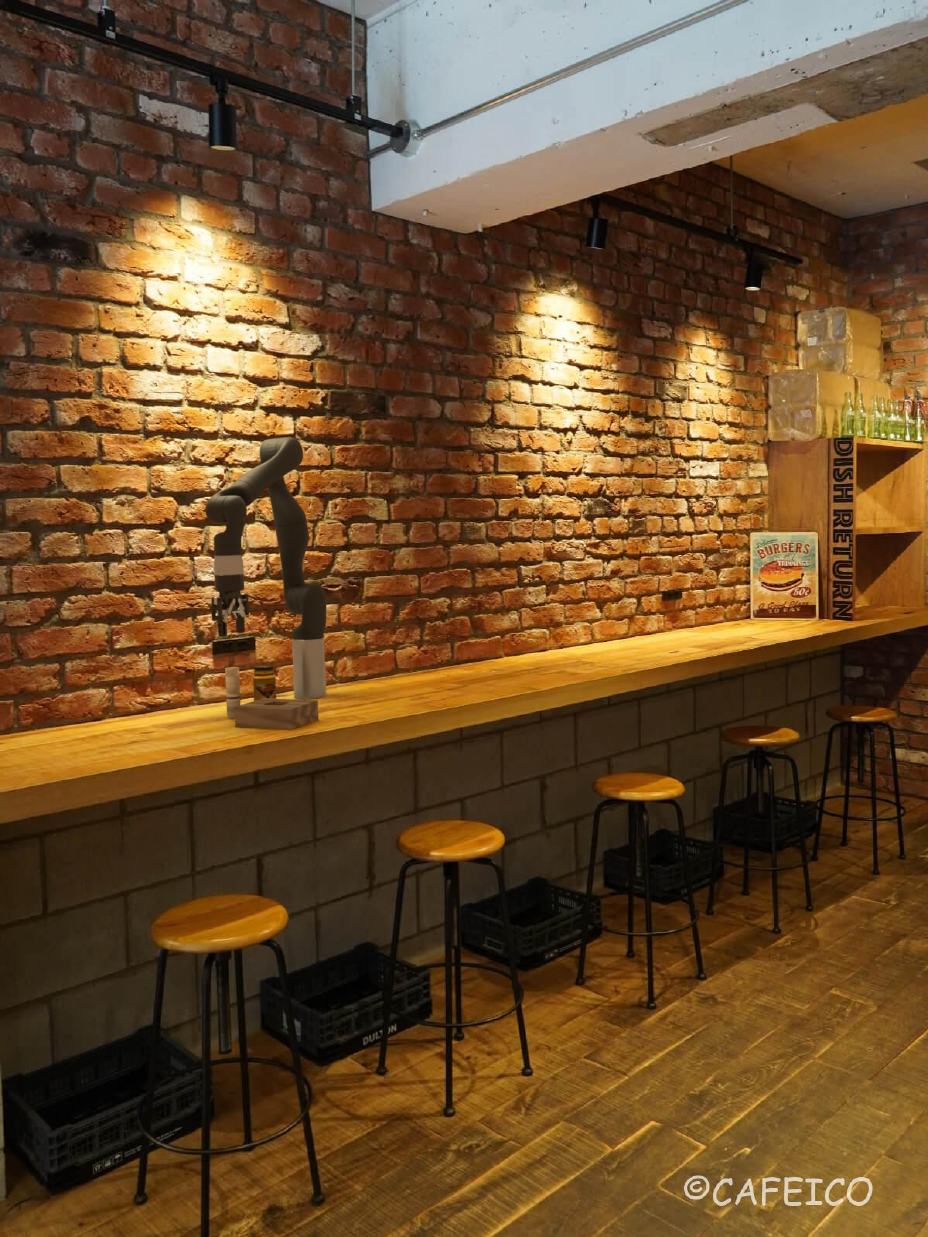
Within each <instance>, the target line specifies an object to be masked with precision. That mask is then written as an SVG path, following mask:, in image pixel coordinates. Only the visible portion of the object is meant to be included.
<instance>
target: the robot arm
mask: <svg viewBox="0 0 928 1237" xmlns="http://www.w3.org/2000/svg"><path fill="white" fill-rule="evenodd" d="M303 459H304V449H303V446H302V444H301V442H300V441H299V440H298V439H297V438H295V437H290V436H288V437H287V436H286V437H275V438H269V439H268V438H267V439H265V440H263V441H262V442H261V443H260V447H259V460H260V464H259V465H256V467H254V468H251V469H250V470H247V471H246V472H245V473H243V474H242V475H241V476H239V477H238V478H237V479H236V480H235V481H234V482H233V483H232V484H231V485H230V486H227V487H225V488H223V489H222V490H220V491H217V492H216V493H215V494H213V495H211V497H210V498H209V499H208V500H207V502H206V505H205V510H204V512H205V516H206V518H207V520H209V521H210V522H212V523H214V524H226V527H225V529H224V531H222V532H218V533H216V534H215V535H214V536H213V552H214V553H213V555H214V558H213V559H214V560H213V573H214V574H213V578H214V590H215V592H218V596H211V606H210V607H211V620H212V621H215V622H216V623H217V633H218V635H217V636H218V637H220V638H222V637H223V638H224V637H227V636H228V623H227V620H228V617H229V616H230V614H233V615H234V616H235V626H236V627H235V631H236V633H237V634H244V633H245V632H246V627H245V625H246V623H245V621H246V620H245V619H247V618H246V617H247V616H249V615H250V604H249V602H250V601H249V593H247V592H244V593H241V591H244V590H245V573H244V572H245V570H244V560H243V550H242V549H243V547H242V537H243V533H244V528H245V524H246V519H247V515H248V514H247V513H248V507H249V506H250V505H252V504H253V503H254V502H255V501H256V499H258V498H259V497H260V496H261V495H262V494H263V493H264V492H265V491H266V490H267V491H268V494H269V500H270V505H271V510H272V515H273V522H274V523H273V524H274V529H275V535H276V540H277V545H278V551H279V558H280V564H281V571H282V584H283V596H284V597H283V598H284V603H285V606H286V609H287V610H288V611H289V613H291V614H292V615H297V616H298V615H299V616H301V623H300V624H299V625H298V626H296V627H294V628H293V629H292V630H291V643H292V644H291V645H292V670H293V672H292V675H293V698H295V699H299V700H314V699H319V698H320V699H321V698H325V697H326V696H327V674H326V673H327V672H326V671H327V670H326V669H327V668H326V665H327V664H326V662H325V659H326V658H325V634H324V633H325V630H326V627H327V596H326V592H325V590H324V588H323V587H322V585H320V584H317V583H306V582H305V576H304V571H303V570H304V569H303V564H304V563H303V562H304V558H305V555H306V552H307V549H308V545H309V541H310V533H309V532H310V531H309V527H308V522H307V521H308V520H307V516H306V513H305V511H304V509H303V508H302V506H301V505H300V503H299V502H298V501H297V500H296V499H295V497H294V496H293V495H292V494H291V492H290V491H289V489H288V487H287V484H286V480H285V477H284V476H287V475H288V474H290V472H291V473H292V472H293V471H294V470H296V469H297V468H299V466H301V464H302V462H303Z"/></svg>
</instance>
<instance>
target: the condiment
mask: <svg viewBox="0 0 928 1237" xmlns="http://www.w3.org/2000/svg"><path fill="white" fill-rule="evenodd" d="M253 671H254V672H253V677H252V678H253V679H252V680H253V683H252V685H253V701H256V700H259V699H262V698H275V699H277V686H276V685H277V683H276V682H277V681H276V675H275V674H274V673H275V672H274V666H273V665H271V664H261V665H260V664H259V665H256V666H254V667H253Z"/></svg>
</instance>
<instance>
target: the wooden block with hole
mask: <svg viewBox="0 0 928 1237" xmlns="http://www.w3.org/2000/svg"><path fill="white" fill-rule="evenodd" d="M234 714H235V718H234V727H235V728H254V729H270V730H271V729H273V730H294V729H297V728H300V727H302V726H305V725H308V724H310V723H312V722H315V721H318V720H319V700H318V699H317V700H316V699H299V698H295V699H294V698H276V699H275V698H262V699H259V700H256V701H254V700H253V701H250V702H247V703H243V704H241V705H239V706H236V707H234Z"/></svg>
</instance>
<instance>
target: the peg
mask: <svg viewBox="0 0 928 1237" xmlns="http://www.w3.org/2000/svg"><path fill="white" fill-rule="evenodd" d="M224 673H225V675H224V677H225V698H226V699H225V701H226V702H225V703H226V718H228V719H235V714H234V707H236V706H239V705H242V704H241V687H240V686H241V683H240V680H241V679H240V667H238V666H234V667H233V666H232V667H231V666H230V667H225V668H224Z"/></svg>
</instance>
